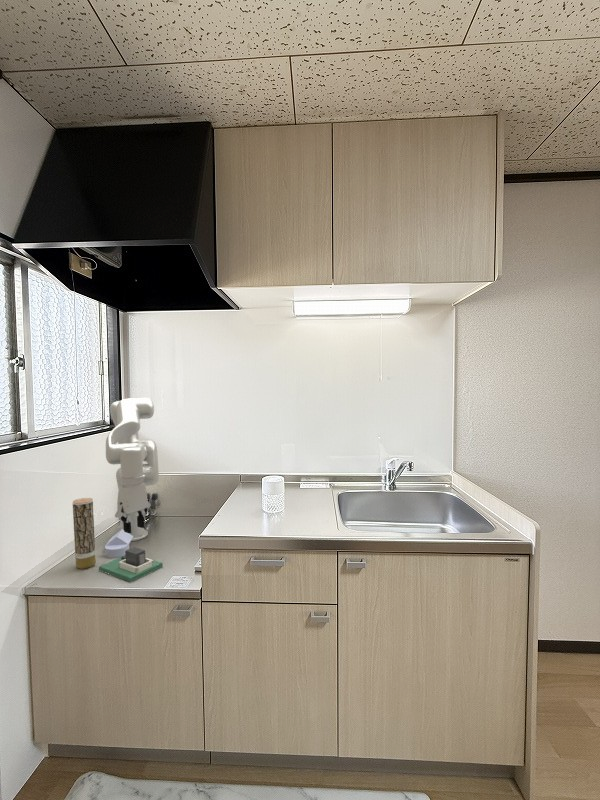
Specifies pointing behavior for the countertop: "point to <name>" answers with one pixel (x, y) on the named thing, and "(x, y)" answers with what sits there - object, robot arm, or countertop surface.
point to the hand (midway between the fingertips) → (134, 529)
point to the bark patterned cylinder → (84, 532)
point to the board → (129, 568)
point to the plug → (135, 556)
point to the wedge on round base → (118, 544)
